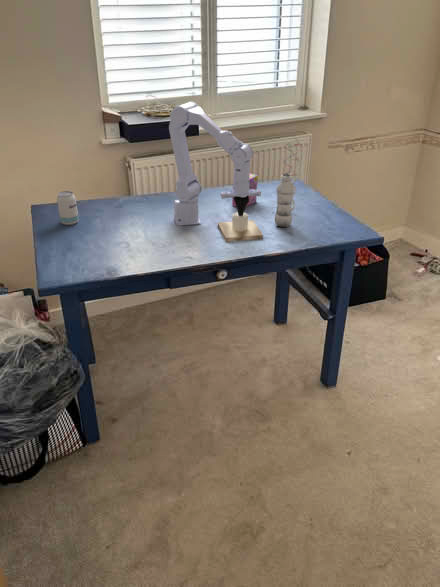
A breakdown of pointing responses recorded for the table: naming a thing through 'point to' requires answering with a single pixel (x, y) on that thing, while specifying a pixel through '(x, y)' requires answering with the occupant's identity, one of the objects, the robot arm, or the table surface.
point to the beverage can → (67, 208)
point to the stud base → (233, 235)
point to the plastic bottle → (284, 201)
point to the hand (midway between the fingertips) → (240, 215)
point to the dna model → (290, 166)
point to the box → (251, 186)
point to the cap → (239, 222)
